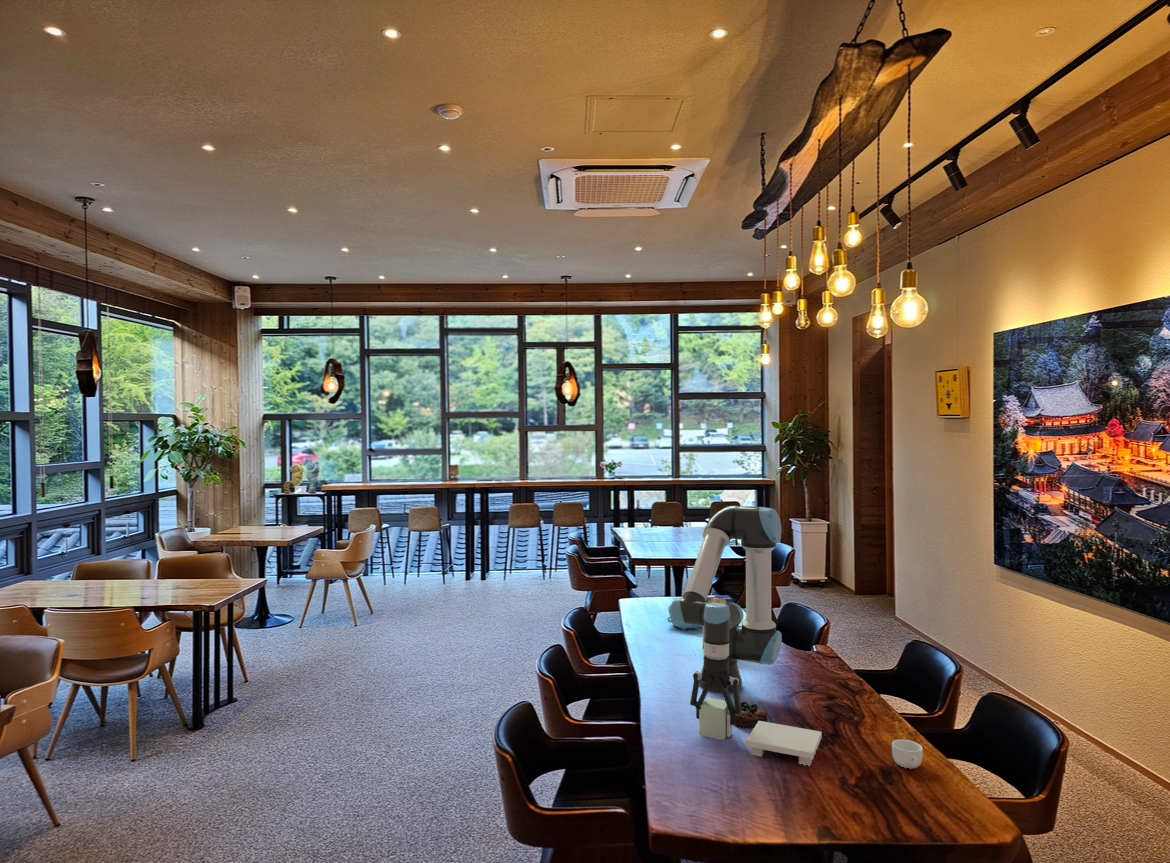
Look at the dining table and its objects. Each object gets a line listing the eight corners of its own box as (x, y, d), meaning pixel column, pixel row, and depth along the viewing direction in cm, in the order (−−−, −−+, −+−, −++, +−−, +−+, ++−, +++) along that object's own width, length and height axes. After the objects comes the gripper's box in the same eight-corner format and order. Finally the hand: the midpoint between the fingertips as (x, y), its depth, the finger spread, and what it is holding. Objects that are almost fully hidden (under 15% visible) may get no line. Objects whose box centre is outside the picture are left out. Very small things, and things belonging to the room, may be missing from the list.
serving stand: (758, 735, 219) (758, 720, 219) (821, 747, 211) (821, 731, 211) (745, 756, 205) (746, 740, 205) (812, 770, 197) (813, 753, 197)
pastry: (740, 731, 223) (740, 711, 223) (721, 716, 235) (722, 698, 235) (772, 727, 226) (772, 708, 226) (752, 713, 238) (753, 695, 238)
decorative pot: (662, 627, 342) (663, 598, 342) (678, 620, 356) (679, 592, 356) (694, 633, 333) (695, 603, 333) (710, 626, 346) (710, 597, 346)
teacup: (887, 758, 205) (887, 739, 205) (915, 759, 204) (915, 739, 204) (901, 775, 195) (902, 754, 195) (931, 775, 194) (931, 755, 194)
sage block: (707, 727, 225) (707, 697, 226) (730, 731, 222) (730, 701, 222) (700, 735, 219) (701, 705, 219) (723, 739, 216) (724, 709, 216)
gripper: (679, 654, 222) (678, 730, 222) (747, 664, 213) (746, 743, 213) (687, 648, 229) (686, 722, 228) (753, 657, 220) (752, 734, 220)
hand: (715, 732), depth 221 cm, fingers open, 8 cm apart
